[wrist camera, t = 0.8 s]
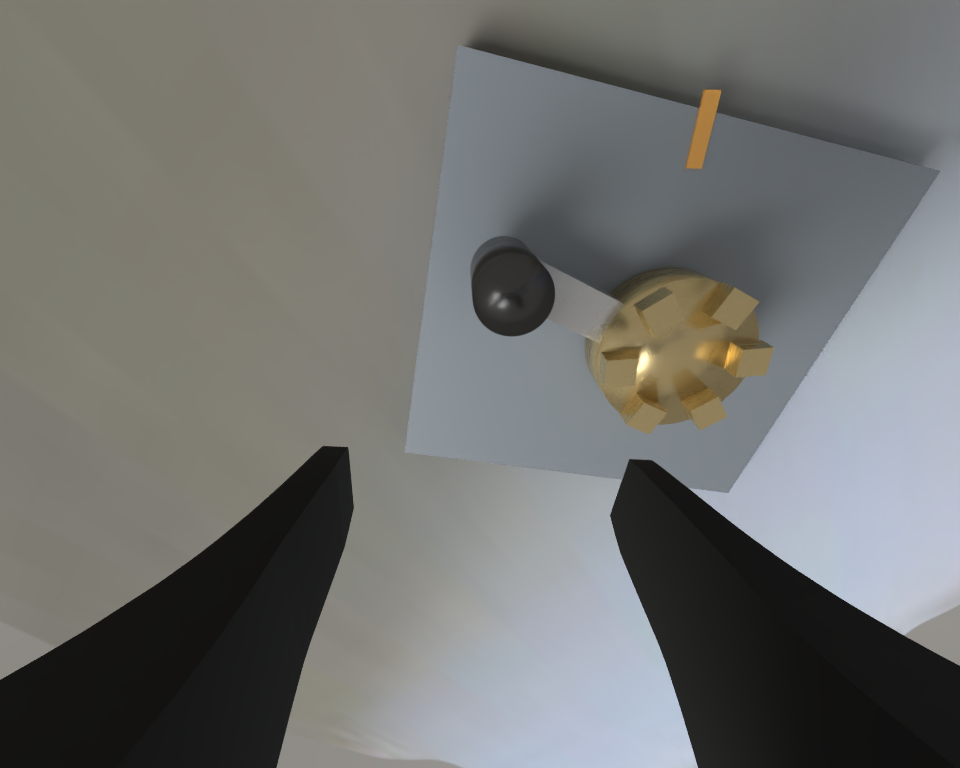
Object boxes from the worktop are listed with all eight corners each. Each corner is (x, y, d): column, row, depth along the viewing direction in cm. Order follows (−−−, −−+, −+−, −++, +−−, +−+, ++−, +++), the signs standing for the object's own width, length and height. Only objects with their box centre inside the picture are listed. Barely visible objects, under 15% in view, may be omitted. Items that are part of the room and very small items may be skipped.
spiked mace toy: (757, 306, 17) (862, 355, 13) (665, 417, 20) (725, 489, 15) (510, 164, 14) (532, 162, 10) (440, 317, 17) (432, 371, 12)
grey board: (912, 154, 16) (954, 152, 15) (714, 475, 24) (729, 494, 23) (460, 34, 14) (460, 19, 12) (407, 435, 22) (404, 453, 21)
